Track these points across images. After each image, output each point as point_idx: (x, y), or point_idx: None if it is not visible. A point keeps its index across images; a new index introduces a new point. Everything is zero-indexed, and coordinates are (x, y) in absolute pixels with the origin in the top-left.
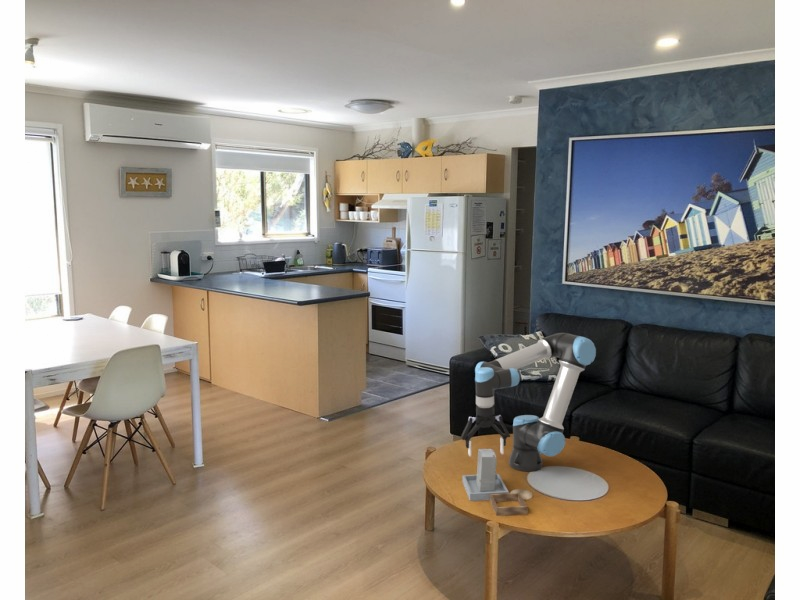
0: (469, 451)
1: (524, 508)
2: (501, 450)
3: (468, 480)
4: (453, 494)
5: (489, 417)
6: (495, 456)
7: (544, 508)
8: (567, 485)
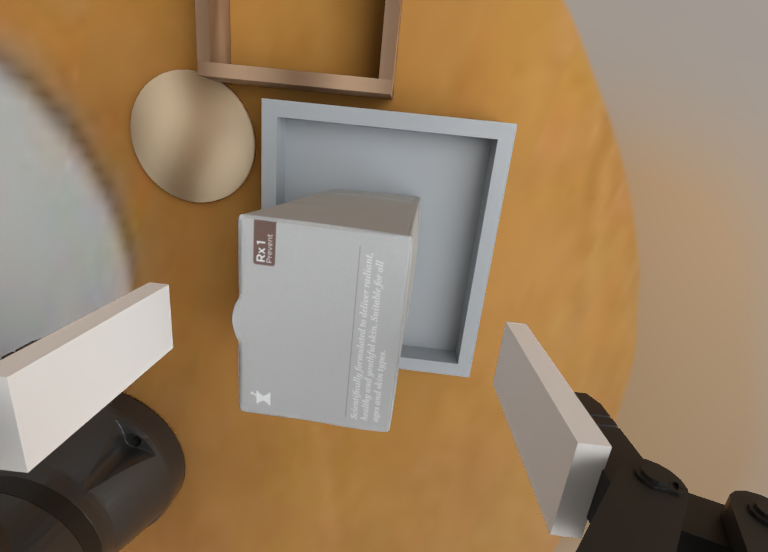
0: (544, 350)
1: None
2: (145, 313)
3: (437, 348)
4: (567, 228)
5: None
6: (249, 224)
7: None
8: None
